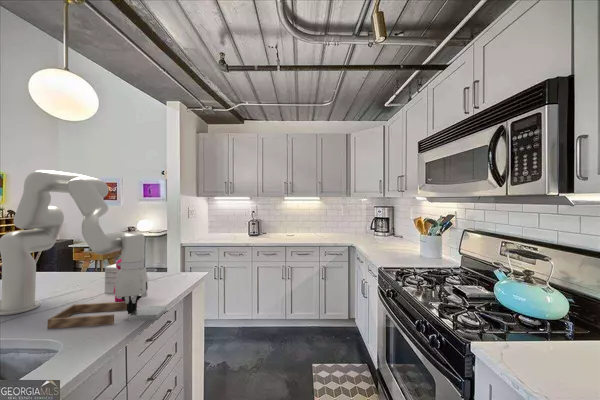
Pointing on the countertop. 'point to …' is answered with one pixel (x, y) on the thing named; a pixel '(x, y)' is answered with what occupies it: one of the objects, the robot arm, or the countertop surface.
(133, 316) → the cover plate
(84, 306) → the wooden u-shaped frame
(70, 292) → the countertop surface
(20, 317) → the countertop surface
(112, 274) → the supplement box
